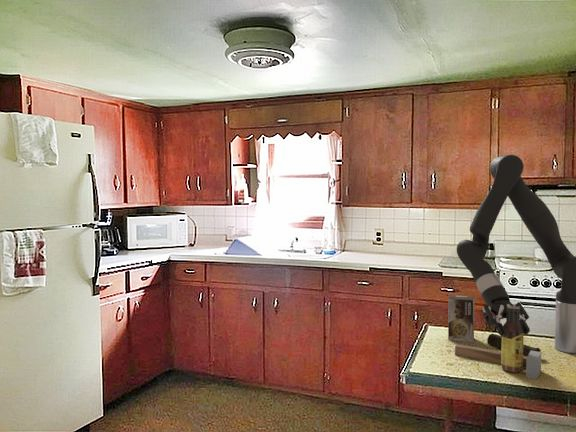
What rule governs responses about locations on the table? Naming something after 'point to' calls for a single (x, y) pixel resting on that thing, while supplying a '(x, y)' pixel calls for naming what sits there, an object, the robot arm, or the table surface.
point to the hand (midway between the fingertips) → (516, 334)
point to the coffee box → (461, 318)
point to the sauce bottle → (512, 341)
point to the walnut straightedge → (481, 354)
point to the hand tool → (497, 343)
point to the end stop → (533, 365)
